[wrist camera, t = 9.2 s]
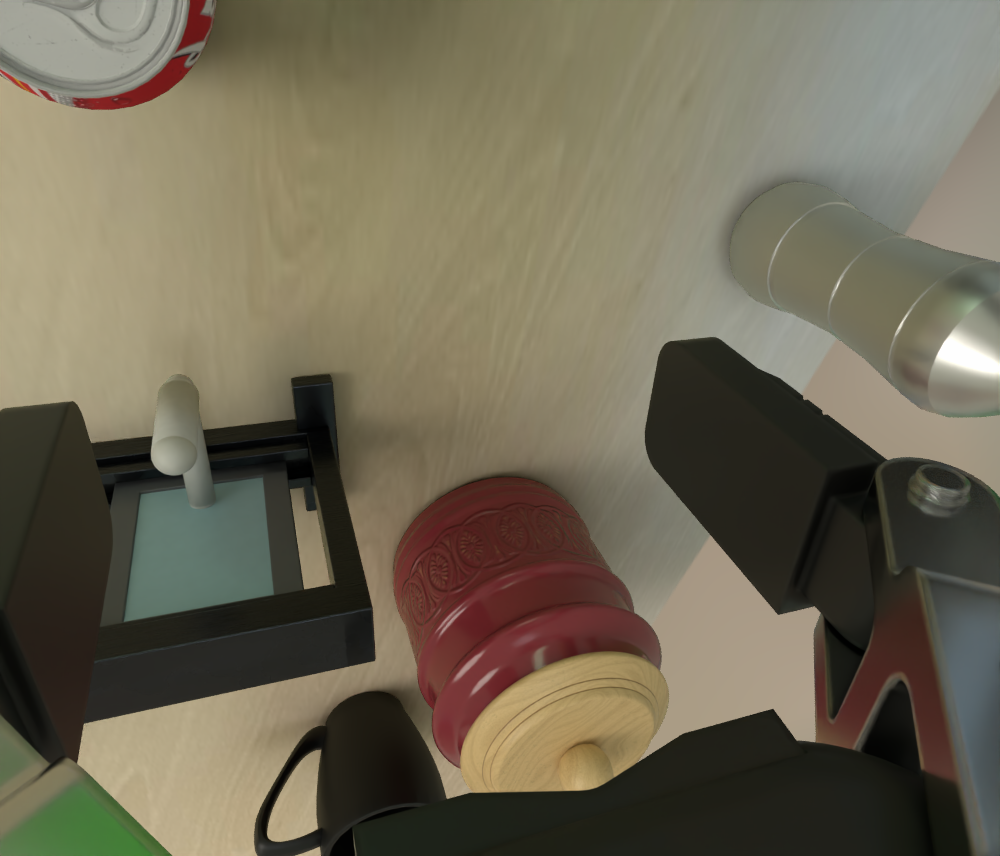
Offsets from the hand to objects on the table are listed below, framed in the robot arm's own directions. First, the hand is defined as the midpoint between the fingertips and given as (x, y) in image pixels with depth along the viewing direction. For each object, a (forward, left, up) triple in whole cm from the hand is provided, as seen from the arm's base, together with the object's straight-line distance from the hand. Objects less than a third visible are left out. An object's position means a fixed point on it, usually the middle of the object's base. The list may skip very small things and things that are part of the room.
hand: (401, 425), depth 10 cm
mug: (-7, +40, -26) cm, 48 cm away
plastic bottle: (-27, +2, -26) cm, 38 cm away
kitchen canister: (-15, +25, -26) cm, 39 cm away
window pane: (+3, +14, -24) cm, 28 cm away
